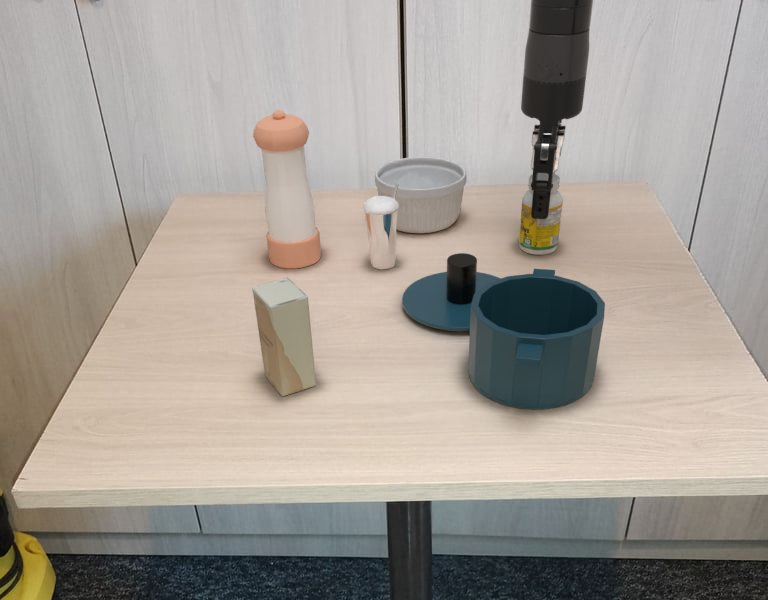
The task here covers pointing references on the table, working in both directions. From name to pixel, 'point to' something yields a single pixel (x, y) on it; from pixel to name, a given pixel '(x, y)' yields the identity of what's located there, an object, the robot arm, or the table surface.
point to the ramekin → (423, 192)
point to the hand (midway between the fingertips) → (541, 206)
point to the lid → (446, 294)
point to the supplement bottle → (541, 221)
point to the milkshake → (382, 229)
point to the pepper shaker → (287, 191)
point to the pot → (534, 340)
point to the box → (285, 335)
